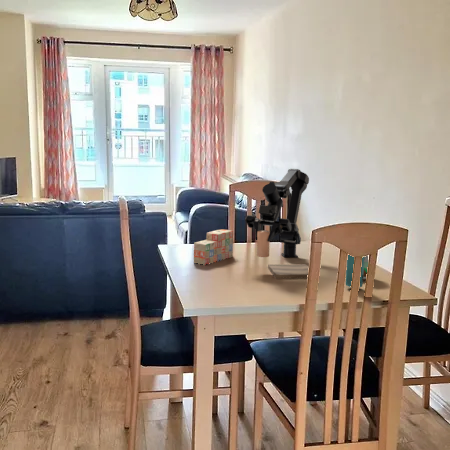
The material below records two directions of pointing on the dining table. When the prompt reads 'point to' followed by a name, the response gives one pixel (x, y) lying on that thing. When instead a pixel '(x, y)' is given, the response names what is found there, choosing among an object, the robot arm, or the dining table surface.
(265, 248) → the terracotta cylinder
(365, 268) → the food container
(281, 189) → the robot arm
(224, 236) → the stack of blocks
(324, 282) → the dining table surface
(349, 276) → the beverage bottle
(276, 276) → the tan flat square block
